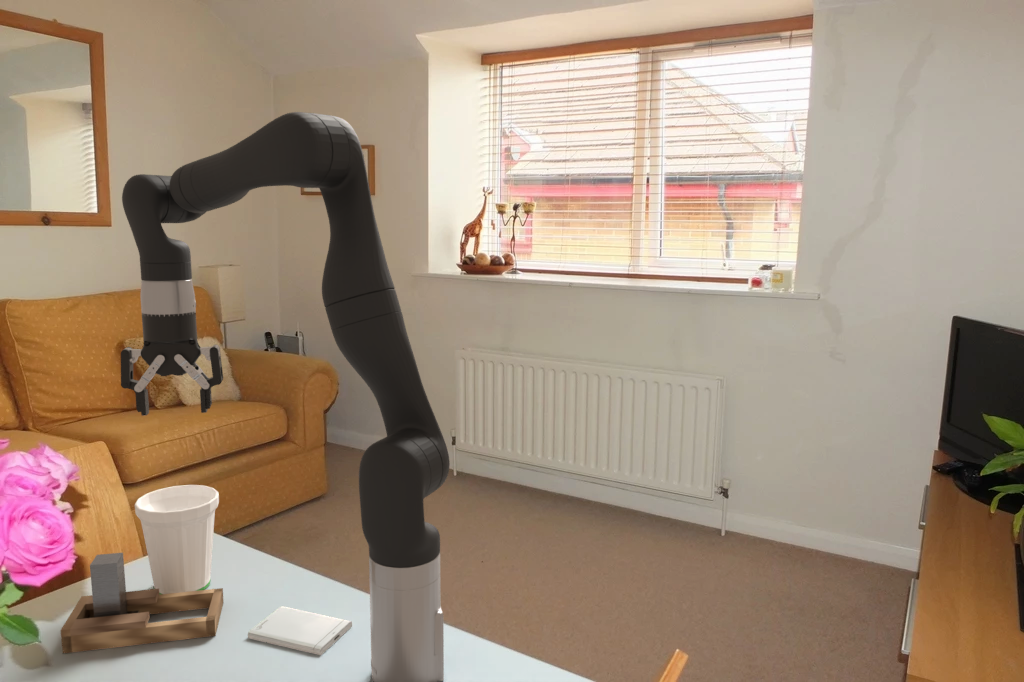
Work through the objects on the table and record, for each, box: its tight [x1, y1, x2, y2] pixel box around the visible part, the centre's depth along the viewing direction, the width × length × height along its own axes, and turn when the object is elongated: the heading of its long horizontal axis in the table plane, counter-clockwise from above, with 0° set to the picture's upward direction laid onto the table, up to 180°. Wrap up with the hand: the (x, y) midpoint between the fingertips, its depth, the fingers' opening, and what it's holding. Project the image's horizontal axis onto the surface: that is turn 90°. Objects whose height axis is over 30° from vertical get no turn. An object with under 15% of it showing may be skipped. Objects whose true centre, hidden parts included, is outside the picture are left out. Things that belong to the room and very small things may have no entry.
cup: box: [134, 484, 220, 594], centre depth 124 cm, size 12×12×15 cm
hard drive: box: [247, 605, 353, 656], centre depth 112 cm, size 2×8×12 cm
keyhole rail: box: [60, 587, 225, 654], centre depth 112 cm, size 20×10×4 cm, turn 104°
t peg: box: [89, 552, 139, 618], centre depth 111 cm, size 6×6×11 cm
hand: (175, 413), depth 118 cm, fingers open, 8 cm apart
